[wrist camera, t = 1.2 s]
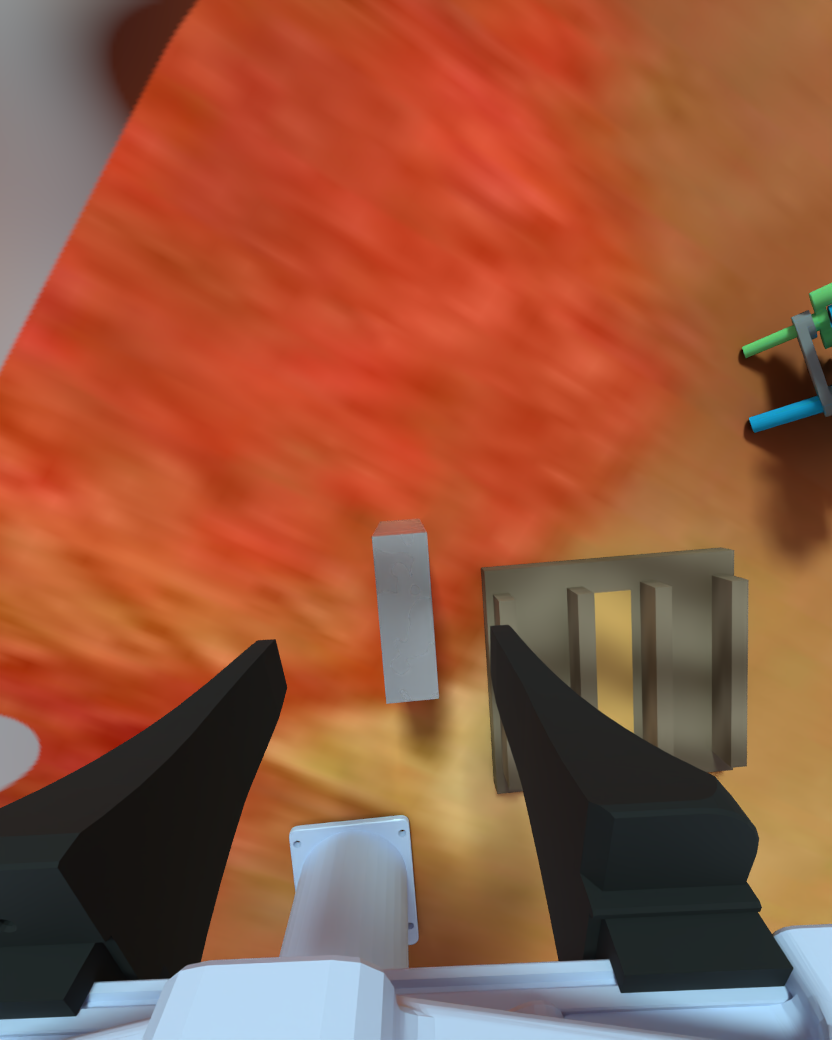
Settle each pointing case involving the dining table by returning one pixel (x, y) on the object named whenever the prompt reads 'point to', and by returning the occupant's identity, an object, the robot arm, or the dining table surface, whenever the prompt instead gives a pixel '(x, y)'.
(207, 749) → the robot arm
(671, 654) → the slot rack
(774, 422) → the gear
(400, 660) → the panel
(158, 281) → the dining table surface
